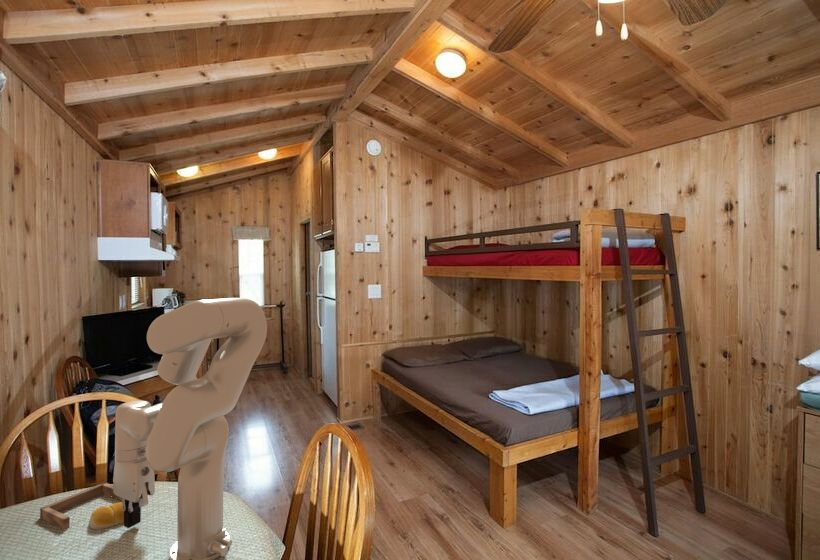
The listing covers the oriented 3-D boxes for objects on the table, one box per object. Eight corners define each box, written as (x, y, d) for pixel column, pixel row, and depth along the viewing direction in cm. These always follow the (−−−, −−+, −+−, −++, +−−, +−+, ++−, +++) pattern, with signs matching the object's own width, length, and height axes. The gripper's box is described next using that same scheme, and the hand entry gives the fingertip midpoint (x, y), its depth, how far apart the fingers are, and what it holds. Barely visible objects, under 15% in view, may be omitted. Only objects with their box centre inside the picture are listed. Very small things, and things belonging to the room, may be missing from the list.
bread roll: (135, 519, 108) (135, 504, 108) (93, 534, 102) (93, 518, 102) (127, 507, 114) (127, 492, 114) (86, 520, 107) (87, 505, 107)
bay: (128, 499, 117) (128, 490, 117) (63, 529, 103) (63, 519, 103) (104, 490, 122) (104, 482, 122) (40, 517, 108) (40, 508, 108)
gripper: (167, 452, 104) (165, 524, 104) (130, 441, 110) (129, 509, 110) (136, 464, 97) (135, 541, 97) (99, 451, 104) (98, 524, 104)
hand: (132, 524), depth 104 cm, fingers closed
